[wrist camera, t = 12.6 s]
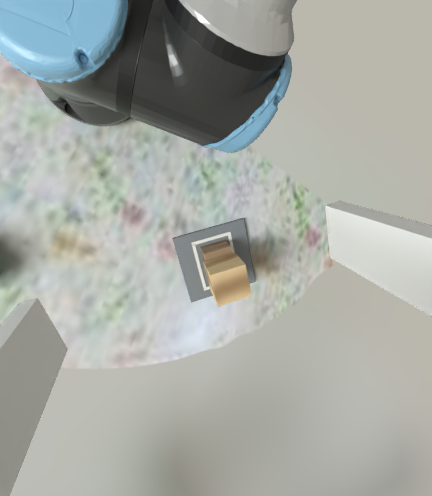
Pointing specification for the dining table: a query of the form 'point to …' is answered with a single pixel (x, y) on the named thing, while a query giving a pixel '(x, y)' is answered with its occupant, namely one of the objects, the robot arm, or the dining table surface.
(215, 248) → the base block
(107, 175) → the dining table surface
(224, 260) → the oak block
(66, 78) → the robot arm
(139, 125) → the dining table surface
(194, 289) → the mat
